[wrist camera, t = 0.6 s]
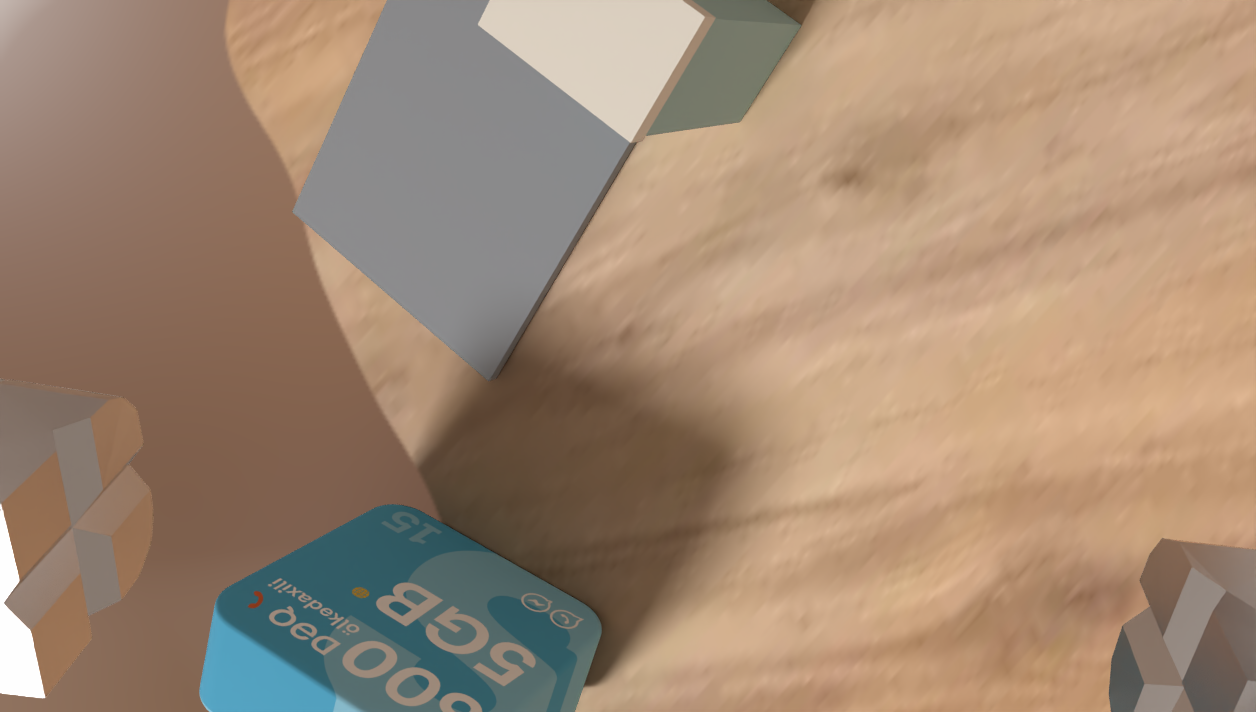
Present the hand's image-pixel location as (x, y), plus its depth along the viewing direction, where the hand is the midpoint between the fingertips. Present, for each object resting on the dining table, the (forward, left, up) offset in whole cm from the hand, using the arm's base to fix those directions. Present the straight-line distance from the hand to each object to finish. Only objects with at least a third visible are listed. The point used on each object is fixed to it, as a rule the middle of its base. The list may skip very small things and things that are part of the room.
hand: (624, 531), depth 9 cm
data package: (+29, -8, -32) cm, 44 cm away
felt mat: (+13, -19, -32) cm, 40 cm away
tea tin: (+3, -13, -32) cm, 35 cm away
